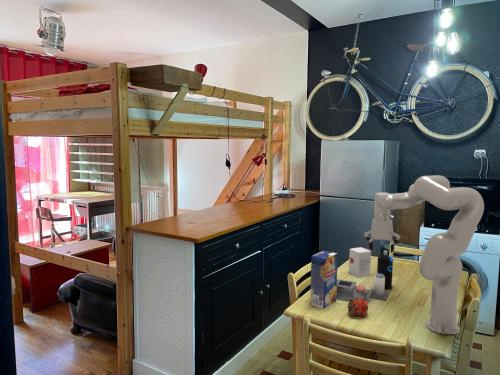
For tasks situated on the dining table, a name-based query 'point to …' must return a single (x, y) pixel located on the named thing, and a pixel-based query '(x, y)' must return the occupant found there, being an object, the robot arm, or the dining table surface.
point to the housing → (350, 291)
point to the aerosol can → (385, 269)
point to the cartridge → (379, 284)
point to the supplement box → (359, 262)
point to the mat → (380, 296)
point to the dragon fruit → (358, 306)
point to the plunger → (360, 289)
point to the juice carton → (323, 279)
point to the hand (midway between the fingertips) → (381, 250)
